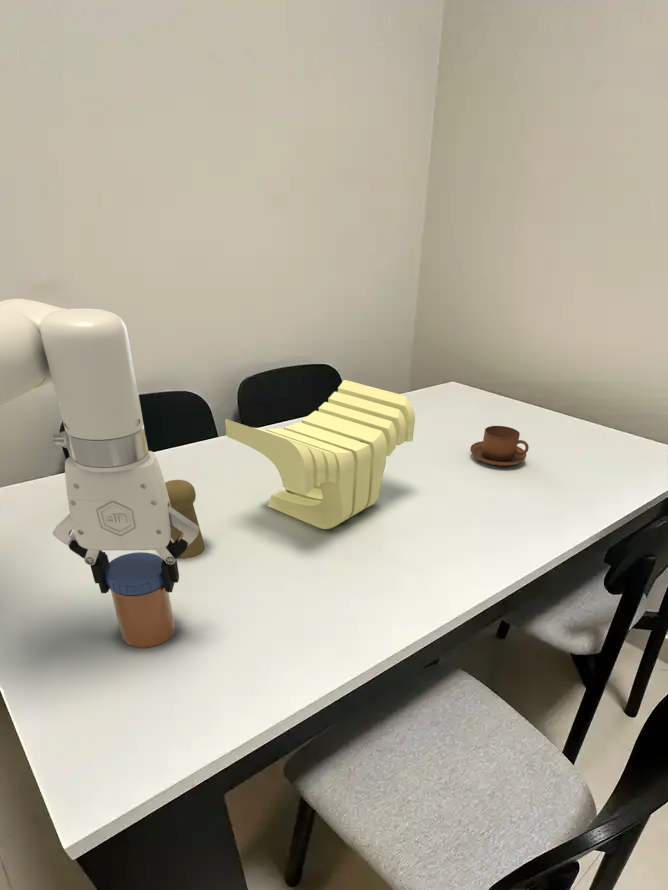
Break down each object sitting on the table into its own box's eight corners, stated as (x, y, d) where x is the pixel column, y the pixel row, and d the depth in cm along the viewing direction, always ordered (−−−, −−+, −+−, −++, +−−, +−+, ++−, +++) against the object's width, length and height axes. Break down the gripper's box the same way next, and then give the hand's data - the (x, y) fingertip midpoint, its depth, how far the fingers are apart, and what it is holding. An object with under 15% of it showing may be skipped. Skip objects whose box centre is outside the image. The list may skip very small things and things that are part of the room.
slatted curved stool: (305, 555, 92) (305, 446, 81) (233, 523, 99) (225, 418, 88) (406, 493, 112) (417, 399, 101) (340, 470, 119) (344, 379, 108)
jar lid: (100, 596, 67) (97, 584, 66) (114, 563, 73) (111, 552, 72) (162, 595, 68) (160, 583, 67) (171, 563, 74) (169, 551, 72)
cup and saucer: (522, 452, 131) (529, 425, 127) (525, 473, 122) (533, 445, 118) (469, 446, 133) (474, 419, 129) (468, 467, 123) (473, 438, 119)
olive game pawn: (164, 559, 89) (152, 493, 83) (167, 539, 94) (156, 475, 87) (204, 557, 90) (196, 491, 83) (205, 537, 95) (198, 474, 88)
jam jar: (116, 648, 73) (100, 586, 67) (127, 616, 78) (113, 556, 72) (170, 647, 73) (159, 585, 67) (178, 615, 78) (168, 556, 73)
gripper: (7, 458, 56) (55, 606, 67) (190, 460, 58) (208, 603, 69) (33, 430, 62) (74, 570, 73) (198, 433, 64) (214, 569, 75)
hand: (139, 585), depth 71 cm, fingers closed on jar lid, 6 cm apart
